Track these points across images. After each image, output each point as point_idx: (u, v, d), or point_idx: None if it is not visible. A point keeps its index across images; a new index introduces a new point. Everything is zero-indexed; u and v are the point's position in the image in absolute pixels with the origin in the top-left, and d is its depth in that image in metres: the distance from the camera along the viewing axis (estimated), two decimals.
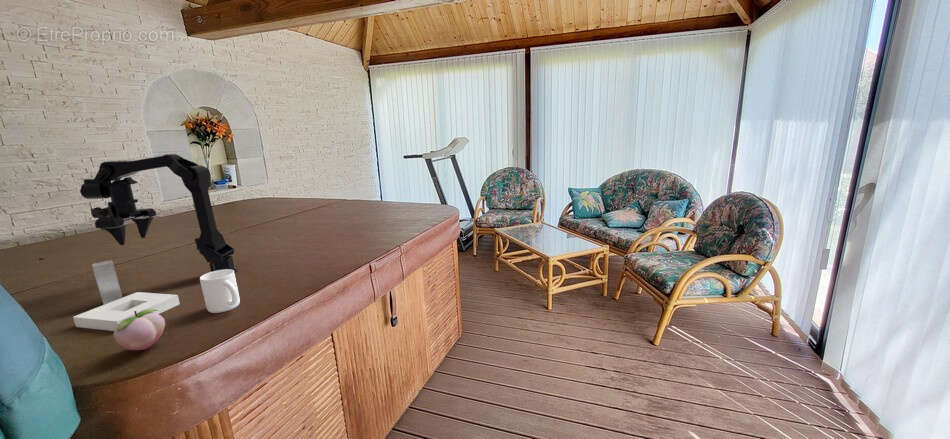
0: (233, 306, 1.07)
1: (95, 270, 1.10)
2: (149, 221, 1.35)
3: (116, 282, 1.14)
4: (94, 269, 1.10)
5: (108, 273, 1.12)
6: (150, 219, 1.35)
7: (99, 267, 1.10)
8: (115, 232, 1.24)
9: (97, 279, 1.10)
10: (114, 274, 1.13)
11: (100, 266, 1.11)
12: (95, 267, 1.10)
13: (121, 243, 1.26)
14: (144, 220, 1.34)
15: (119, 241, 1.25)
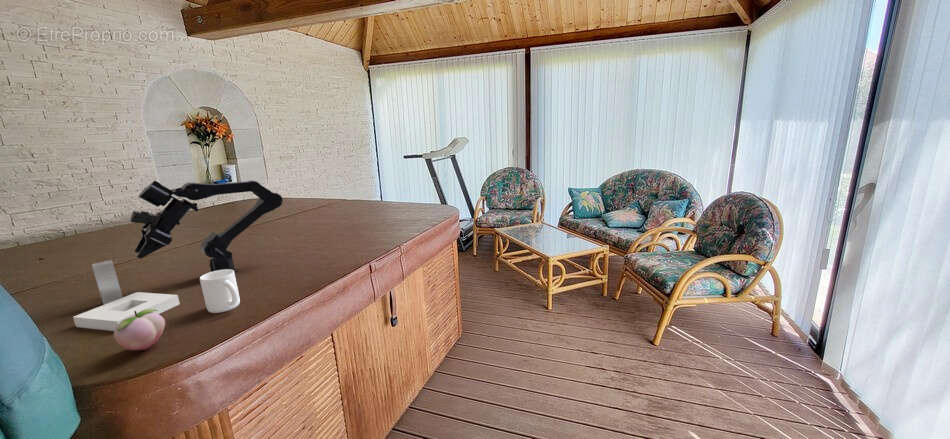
0: (233, 306, 1.07)
1: (95, 270, 1.10)
2: None
3: (116, 282, 1.14)
4: (94, 269, 1.10)
5: (108, 273, 1.12)
6: None
7: (99, 267, 1.10)
8: (149, 245, 1.15)
9: (97, 279, 1.10)
10: (114, 274, 1.13)
11: (100, 266, 1.11)
12: (95, 267, 1.10)
13: (139, 256, 1.15)
14: None
15: (141, 253, 1.15)
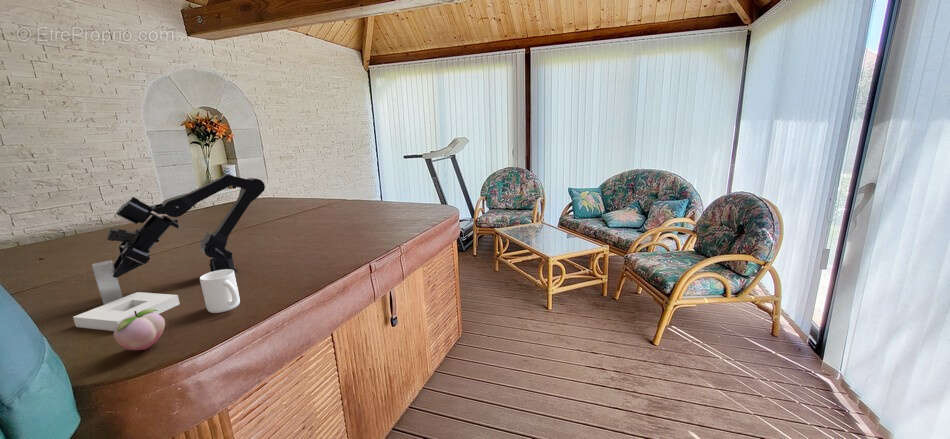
0: (233, 306, 1.07)
1: (95, 270, 1.10)
2: None
3: (116, 282, 1.14)
4: (94, 269, 1.10)
5: (108, 273, 1.12)
6: None
7: (99, 267, 1.10)
8: (126, 264, 1.12)
9: (97, 279, 1.10)
10: None
11: (100, 266, 1.11)
12: (95, 267, 1.10)
13: (115, 276, 1.11)
14: None
15: (117, 273, 1.11)
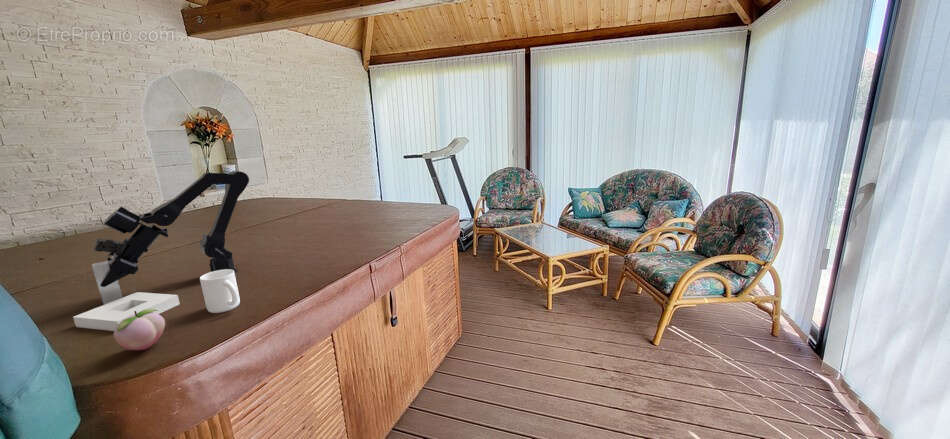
0: (233, 306, 1.07)
1: (95, 270, 1.10)
2: None
3: (116, 282, 1.14)
4: (94, 269, 1.10)
5: None
6: None
7: (99, 267, 1.10)
8: (113, 273, 1.12)
9: (97, 279, 1.10)
10: None
11: (100, 266, 1.11)
12: (95, 267, 1.10)
13: (103, 285, 1.11)
14: None
15: (105, 282, 1.11)
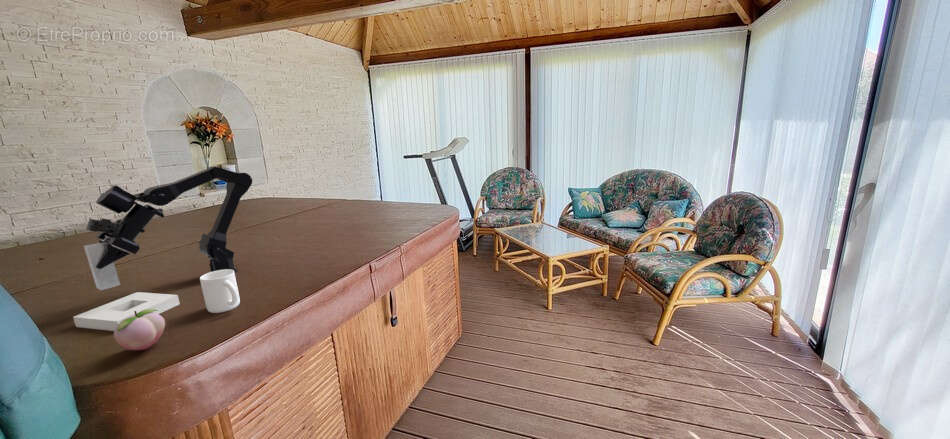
0: (233, 306, 1.07)
1: (90, 251, 1.05)
2: None
3: (112, 264, 1.09)
4: (89, 250, 1.05)
5: None
6: None
7: (94, 248, 1.05)
8: (110, 254, 1.07)
9: (93, 260, 1.05)
10: None
11: (95, 247, 1.06)
12: (90, 248, 1.05)
13: (99, 267, 1.06)
14: None
15: (101, 263, 1.06)
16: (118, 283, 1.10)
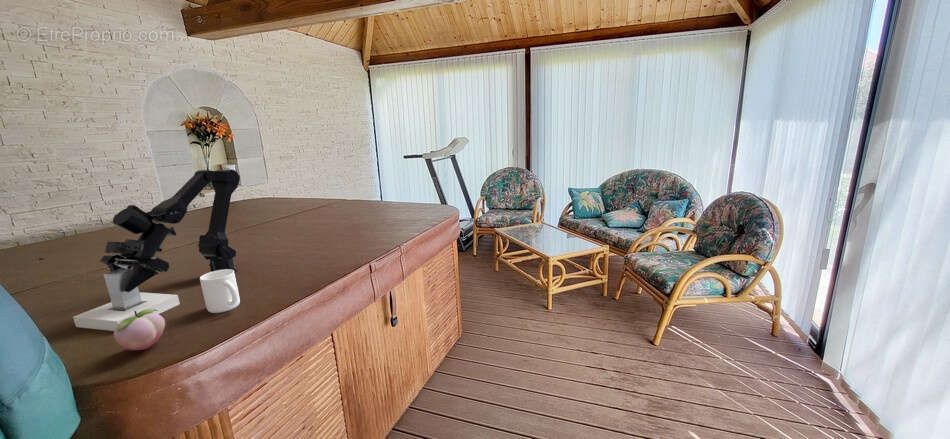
0: (233, 306, 1.07)
1: (118, 278, 1.01)
2: None
3: (137, 289, 1.06)
4: (117, 277, 1.01)
5: None
6: None
7: (121, 274, 1.02)
8: (139, 276, 1.04)
9: (120, 287, 1.02)
10: None
11: (122, 273, 1.02)
12: (118, 274, 1.01)
13: (128, 290, 1.03)
14: None
15: (130, 286, 1.03)
16: None
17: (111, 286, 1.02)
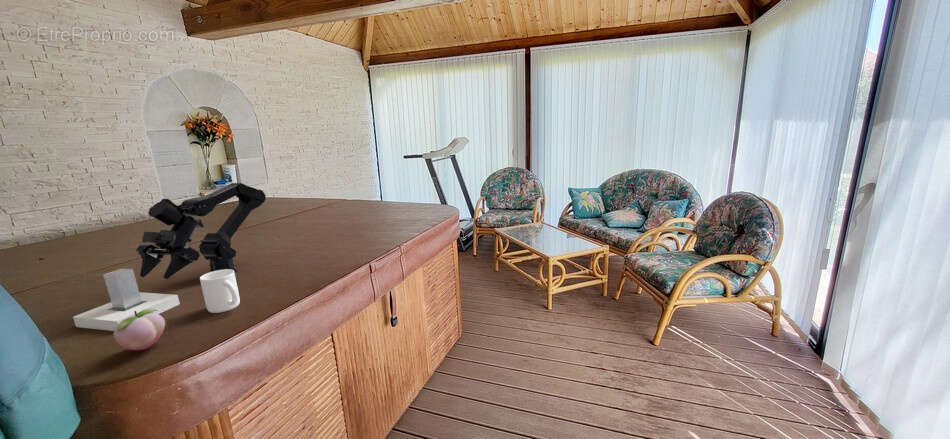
0: (233, 306, 1.07)
1: (117, 278, 1.01)
2: None
3: (137, 290, 1.06)
4: (117, 277, 1.01)
5: (129, 281, 1.04)
6: None
7: (121, 274, 1.02)
8: (176, 264, 1.13)
9: (120, 287, 1.02)
10: (135, 281, 1.05)
11: (122, 273, 1.02)
12: (118, 275, 1.01)
13: (166, 276, 1.11)
14: (156, 260, 1.18)
15: (168, 273, 1.12)
16: None
17: (111, 286, 1.02)
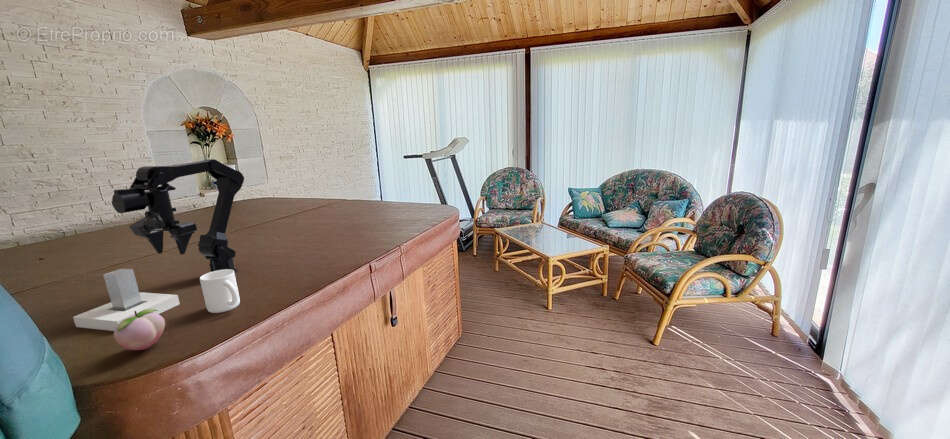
0: (233, 306, 1.07)
1: (117, 278, 1.01)
2: None
3: (137, 290, 1.06)
4: (117, 277, 1.01)
5: (129, 281, 1.04)
6: None
7: (121, 274, 1.02)
8: (181, 240, 1.17)
9: (120, 287, 1.02)
10: (135, 281, 1.05)
11: (122, 273, 1.02)
12: (118, 275, 1.01)
13: (182, 252, 1.18)
14: (159, 233, 1.20)
15: (182, 250, 1.17)
16: None
17: (111, 286, 1.02)
